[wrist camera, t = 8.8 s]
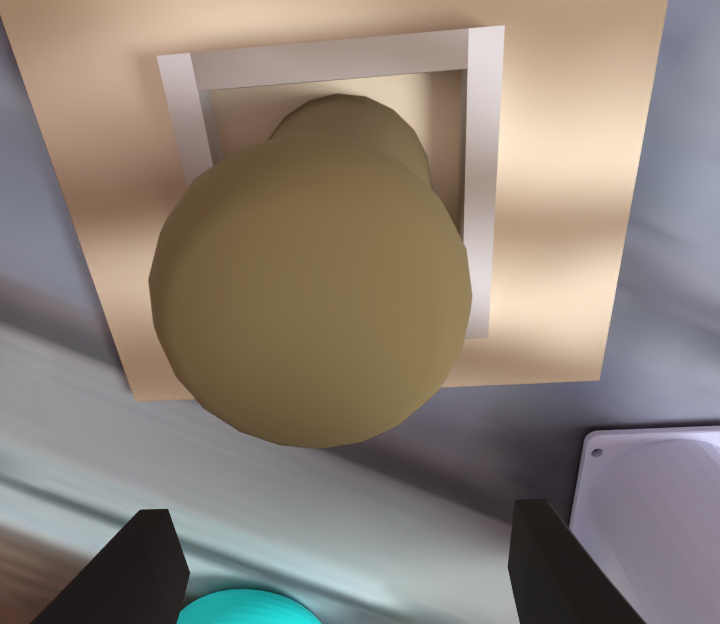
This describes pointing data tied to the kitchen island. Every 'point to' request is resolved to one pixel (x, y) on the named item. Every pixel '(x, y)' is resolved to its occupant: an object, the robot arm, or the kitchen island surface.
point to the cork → (314, 279)
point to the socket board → (389, 87)
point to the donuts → (245, 609)
